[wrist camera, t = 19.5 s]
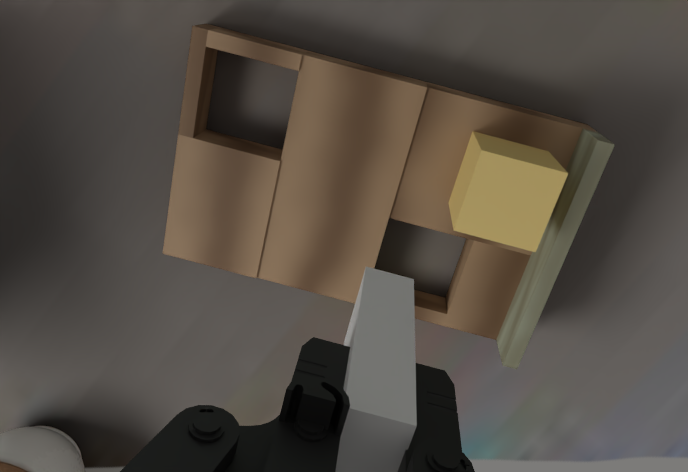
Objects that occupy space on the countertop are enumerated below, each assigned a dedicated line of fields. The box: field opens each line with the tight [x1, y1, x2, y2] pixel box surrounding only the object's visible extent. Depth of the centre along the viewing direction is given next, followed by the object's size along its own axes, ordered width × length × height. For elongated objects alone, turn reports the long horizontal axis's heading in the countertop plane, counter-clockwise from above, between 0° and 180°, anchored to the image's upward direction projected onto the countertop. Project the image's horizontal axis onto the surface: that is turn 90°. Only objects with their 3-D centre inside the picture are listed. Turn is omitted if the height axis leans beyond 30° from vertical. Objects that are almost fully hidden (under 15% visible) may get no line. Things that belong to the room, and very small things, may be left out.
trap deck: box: [163, 24, 615, 369], centre depth 39 cm, size 26×16×6 cm, turn 76°
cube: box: [449, 131, 568, 252], centre depth 36 cm, size 5×5×5 cm
